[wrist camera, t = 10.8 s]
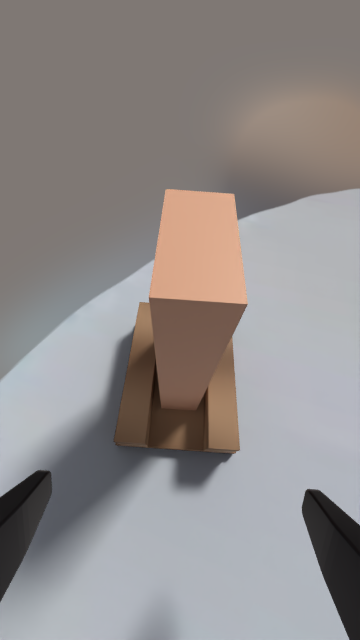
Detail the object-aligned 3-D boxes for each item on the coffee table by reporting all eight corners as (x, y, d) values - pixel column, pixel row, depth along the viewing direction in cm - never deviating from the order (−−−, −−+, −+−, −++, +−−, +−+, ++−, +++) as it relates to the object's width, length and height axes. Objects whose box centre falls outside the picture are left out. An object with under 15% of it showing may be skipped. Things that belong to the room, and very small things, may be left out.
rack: (232, 453, 16) (245, 450, 14) (117, 445, 16) (107, 441, 14) (226, 329, 22) (234, 309, 19) (139, 322, 22) (135, 301, 19)
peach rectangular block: (195, 410, 17) (247, 304, 6) (161, 408, 17) (148, 297, 6) (197, 347, 20) (234, 193, 9) (167, 345, 20) (165, 188, 9)
